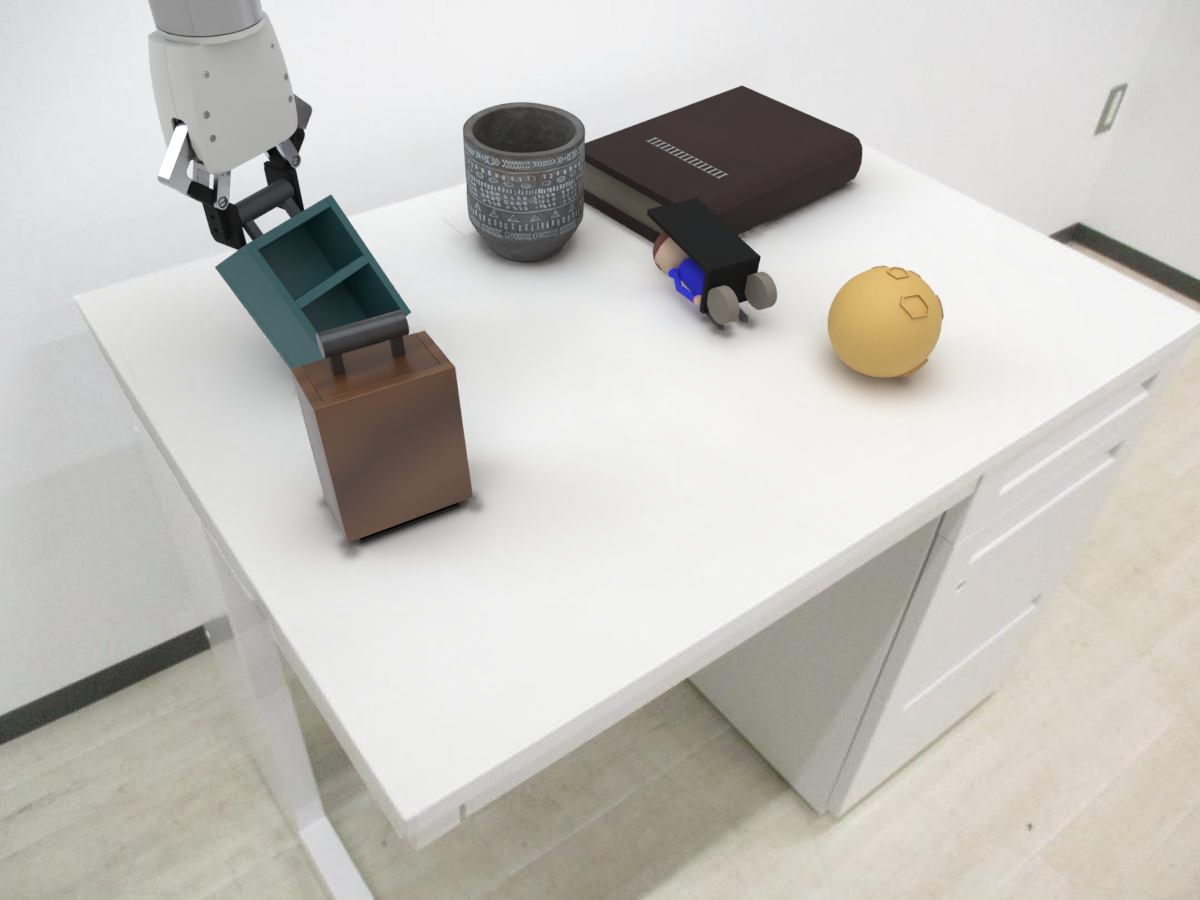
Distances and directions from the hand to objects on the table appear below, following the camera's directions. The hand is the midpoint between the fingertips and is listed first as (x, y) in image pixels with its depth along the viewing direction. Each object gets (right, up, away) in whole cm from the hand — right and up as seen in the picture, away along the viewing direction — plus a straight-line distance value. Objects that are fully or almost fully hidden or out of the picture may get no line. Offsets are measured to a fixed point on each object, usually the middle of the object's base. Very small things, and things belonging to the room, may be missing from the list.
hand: (260, 224), depth 80 cm
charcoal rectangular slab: (+13, -23, -6) cm, 27 cm away
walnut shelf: (+15, -18, -14) cm, 27 cm away
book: (+43, +11, +32) cm, 54 cm away
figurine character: (+39, -4, +15) cm, 42 cm away
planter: (+21, +3, +22) cm, 31 cm away
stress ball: (+54, -11, +8) cm, 56 cm away
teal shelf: (+2, -5, +3) cm, 6 cm away
